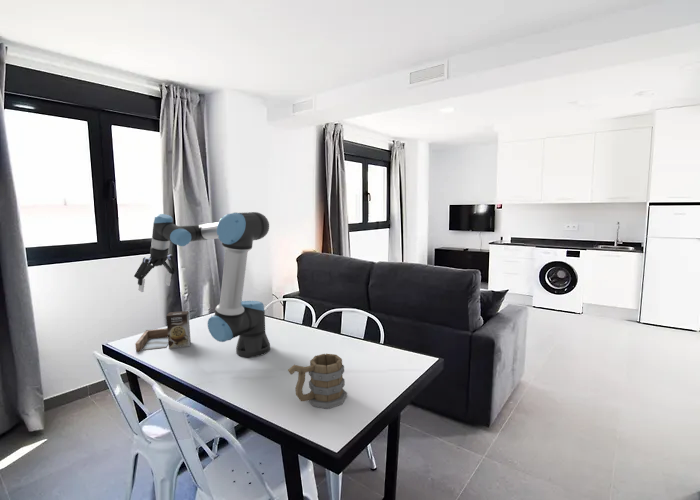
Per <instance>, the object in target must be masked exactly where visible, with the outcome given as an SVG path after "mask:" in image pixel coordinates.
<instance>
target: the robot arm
mask: <svg viewBox="0 0 700 500" xmlns="http://www.w3.org/2000/svg"><path fill="white" fill-rule="evenodd" d="M153 219H154V220H153V225H152V237H151V246H150V251H149V254H150V255H149V257H147V258H146V257H142V262H141V263H140V264H139V267H138V269H137V270H136V272H135V274H134V276H133V277H134V278H135V279H137V285H138V291H140V292H141V293H143V292H145V291H144V289H145V284H146V283H145V281H146V279H145V277H146V276H147V275H148V274H149V273H150V272H151V271H152V269H154V268H155V267H158V266H159V267H162V266H163V267H164V268H165V269H166V270H167V271H166V274H165V282H164V284H165V285H166V286H168V287H170V286H171V280H172V279H173V275H174V274H176V273H175V272H177V271H178V269H177V267H176V264H175V260H174V255H173V254H171V253H169V249H170V243H173V244H174V245H175V246H178V247H179V246H180V247H186V246H187V245H188V244H190V243H192V242H197V241H199V242H200V241H208V240H216V239H217V240H219V241H220V242H221V246H222V247H223V249H224V250H225V251H224V259H223V260H224V261H223V271H222V280H221V290H220V296H219V297H220V298H219V299H220V300H219V304H217V305H216V306H215V308H214V309H215V310H214V315H211V316H210V317H209V318H208V320H207V329H208V332H209V333H210V335H211V337H212V338H213V339H215V340H216V341H217V342H220V343H224V342H227V341H231V340H232V339H235V338H237V337H238V340H237V343H236V349H235V350H236V351H235V352H236V354H237V356H238V357H244V358H255V357H260V356H263V355H265V354H268V353H269V352H270V350H271V343H270V340H269V338H268V335H267V333H266V316H265V312H266V311H265V304H264V303H263V302H262V301H258V300H243V293H244V286H245V277H246V270H247V269H246V268H247V260H248V252H249V251H250V250H252V248H253V243H254V241H258V240H261V239H264V237H266V235H267V234H268V233H269V231H270V222H269V220H268V218H267V217H266V215H264V214H262V213H260V212H257V211H253V212H252V211H251V212H232V213H226V214H224V215H223V216H222V217H221V218H220V219H219V221H218V222H210V223H203V224H193V225H180V226H179V225H177V224H175V223H174V219H173V217H172V216H171V215H170V214H165V213H160V214H159V213H158V214H156V215H155V216H154V218H153ZM167 261H168V262H167Z"/></svg>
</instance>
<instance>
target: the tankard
mask: <svg viewBox="0 0 700 500" xmlns="http://www.w3.org/2000/svg"><path fill="white" fill-rule="evenodd" d="M287 372H288V373H289V374H290V375H293V374H294V373H295V372H297V373H298V374H297V375H298V376H297V382H296V385H295V396H297V398H298V400H299V401H300V402H307V401H308V402H309V403H310V404H311V405H312V407H315V408H319V409H320V408H322V409H329V410H330V409H331V408H335V407H338V406H342V405H343V404H344V402H345V400H346V399H347V397H348V393H347V391H346V390H345V389H344V387H345V385H346V384H345V383H346V382H345V381H346V379H345V378H344V377H343V375H344V373H345V365H344V364H343V359H342V358H341V357H340V356H339V355H337V354H333V353H322V354H317V355H315V356H314V357H312V358H311V360H309V365H308V366H307V365H306V366H304V365H303V366H301V365H297V364H293V365H291V367H289V368H288V369H287ZM306 373H308V375H309V376H310V379H309V381H308V388H309V390H310V391H309V392H308V393H304V392H303V389H304V384H305V381H306Z"/></svg>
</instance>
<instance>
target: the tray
mask: <svg viewBox="0 0 700 500" xmlns="http://www.w3.org/2000/svg"><path fill="white" fill-rule="evenodd" d="M134 344H135V350H136V351H135V352H136V353H138V352H141V351H147V350H148V351H149V350H156V349H165V348H167V347H168V346H169V343H168V330H167V327H166V328H157V329H156V328H155V329H147V330H146V329H145V331H144V332H143V333H142V335H141V336H140V337H139V338H138V339H137V341H136V342H135V343H134Z"/></svg>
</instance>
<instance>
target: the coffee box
mask: <svg viewBox="0 0 700 500" xmlns="http://www.w3.org/2000/svg"><path fill="white" fill-rule="evenodd" d="M166 328H167V330H168V350H169V349H178V348H186V347H190V346H191V343H192V342H191V341H192V340H191V329H190V311H189V310H185V311H173V312H172V311H171V312H168V313H167V314H166Z"/></svg>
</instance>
